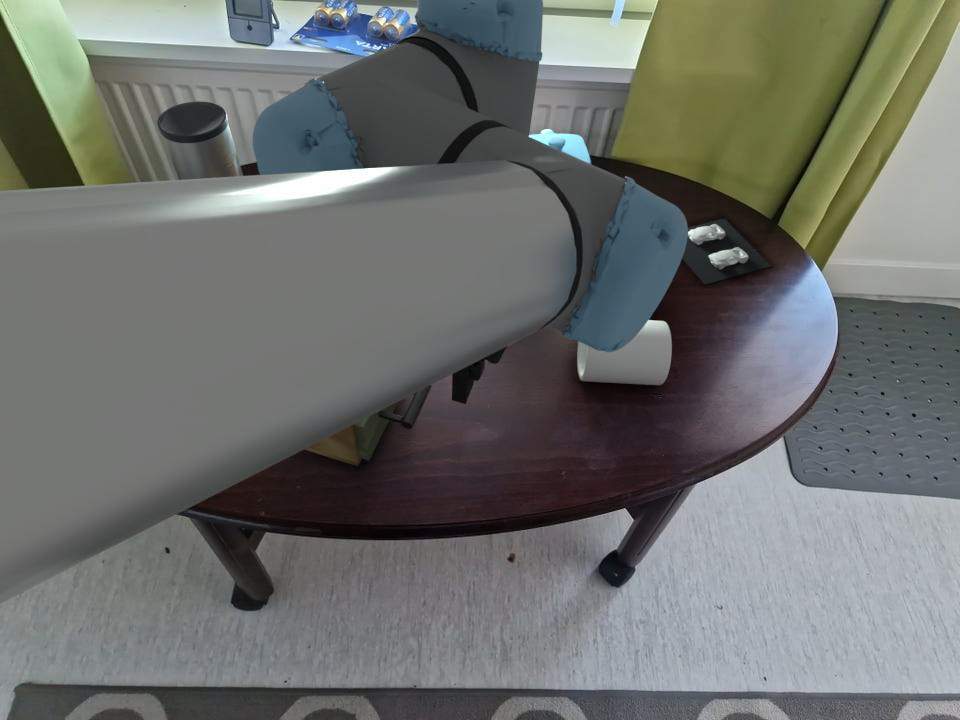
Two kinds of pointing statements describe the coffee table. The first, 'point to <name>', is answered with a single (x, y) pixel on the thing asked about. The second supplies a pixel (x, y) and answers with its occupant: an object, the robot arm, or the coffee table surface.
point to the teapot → (565, 143)
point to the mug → (630, 358)
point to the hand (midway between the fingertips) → (462, 392)
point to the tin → (199, 141)
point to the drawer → (375, 424)
